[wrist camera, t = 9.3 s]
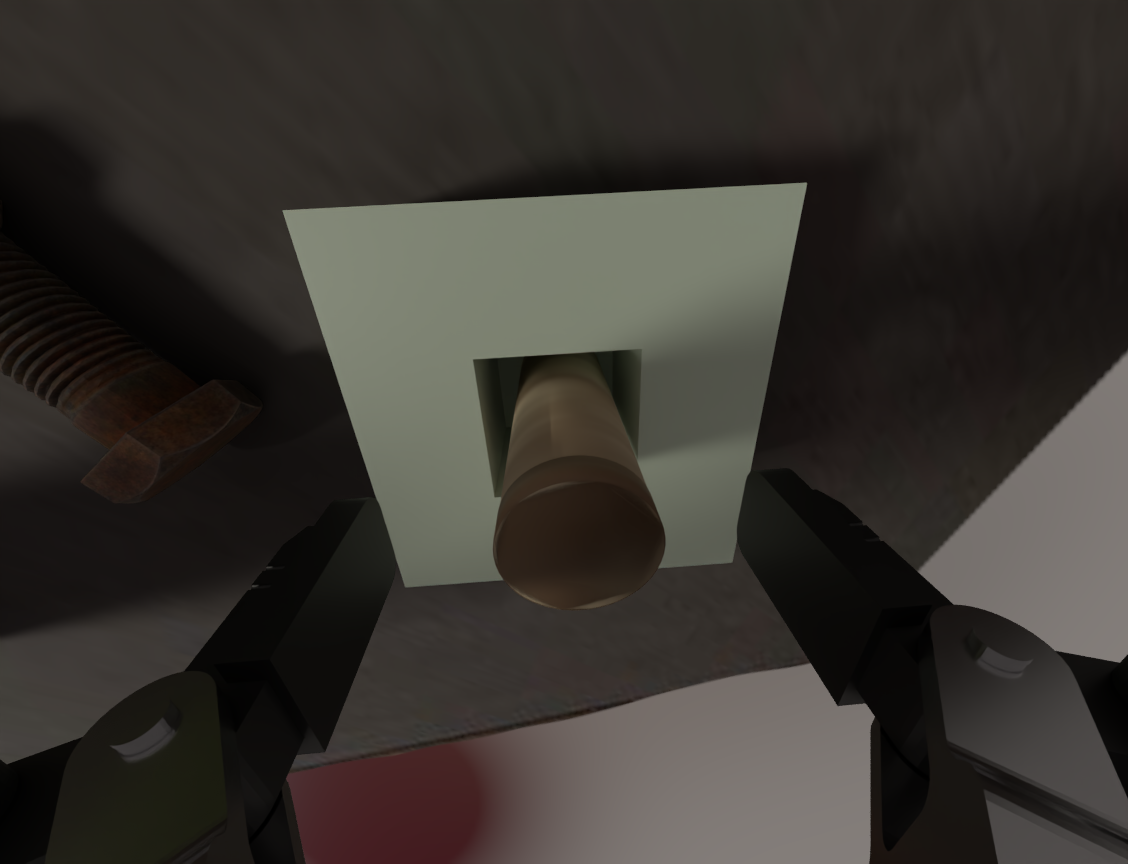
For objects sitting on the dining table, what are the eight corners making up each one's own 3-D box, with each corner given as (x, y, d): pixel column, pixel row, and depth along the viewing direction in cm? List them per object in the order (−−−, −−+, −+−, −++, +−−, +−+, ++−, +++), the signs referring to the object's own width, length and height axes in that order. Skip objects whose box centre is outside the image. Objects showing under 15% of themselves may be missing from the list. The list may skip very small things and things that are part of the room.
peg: (524, 411, 17) (503, 615, 8) (516, 335, 16) (480, 486, 7) (600, 406, 17) (660, 604, 8) (599, 330, 16) (671, 473, 7)
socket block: (441, 489, 20) (405, 587, 15) (377, 214, 14) (282, 210, 9) (681, 472, 20) (732, 562, 15) (710, 196, 15) (807, 182, 9)
